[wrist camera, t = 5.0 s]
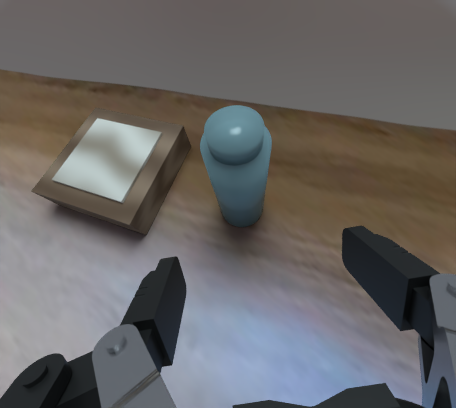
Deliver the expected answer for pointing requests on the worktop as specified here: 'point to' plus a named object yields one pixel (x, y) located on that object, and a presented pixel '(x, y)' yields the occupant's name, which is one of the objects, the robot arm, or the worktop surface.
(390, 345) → the worktop surface
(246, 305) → the worktop surface
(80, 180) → the plinth
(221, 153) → the blue capped bottle
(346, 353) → the worktop surface
